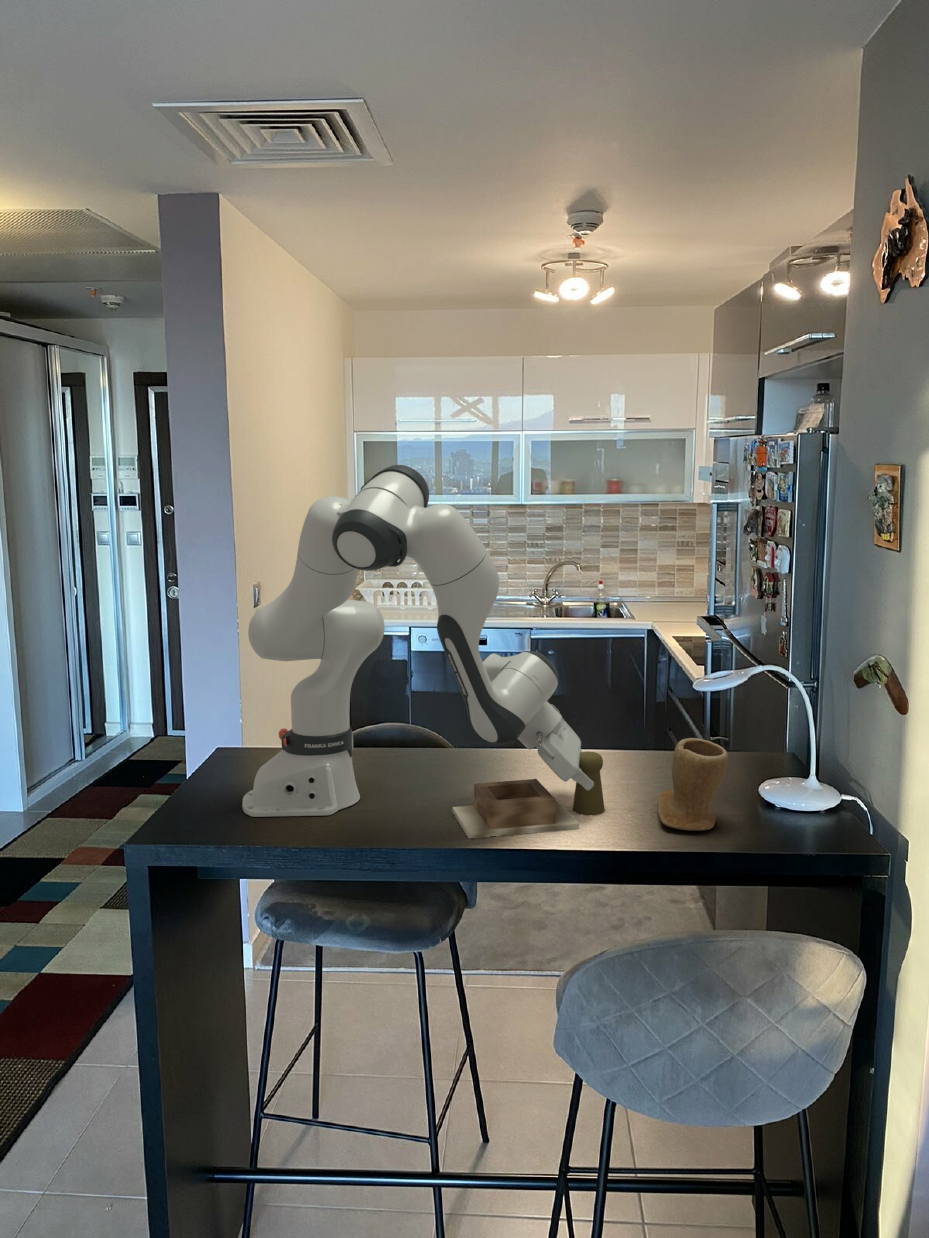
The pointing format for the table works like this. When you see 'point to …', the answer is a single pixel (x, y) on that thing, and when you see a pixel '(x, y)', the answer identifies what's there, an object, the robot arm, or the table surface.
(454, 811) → the cruet stand
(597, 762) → the cork
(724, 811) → the table surface
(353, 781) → the robot arm
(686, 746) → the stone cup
